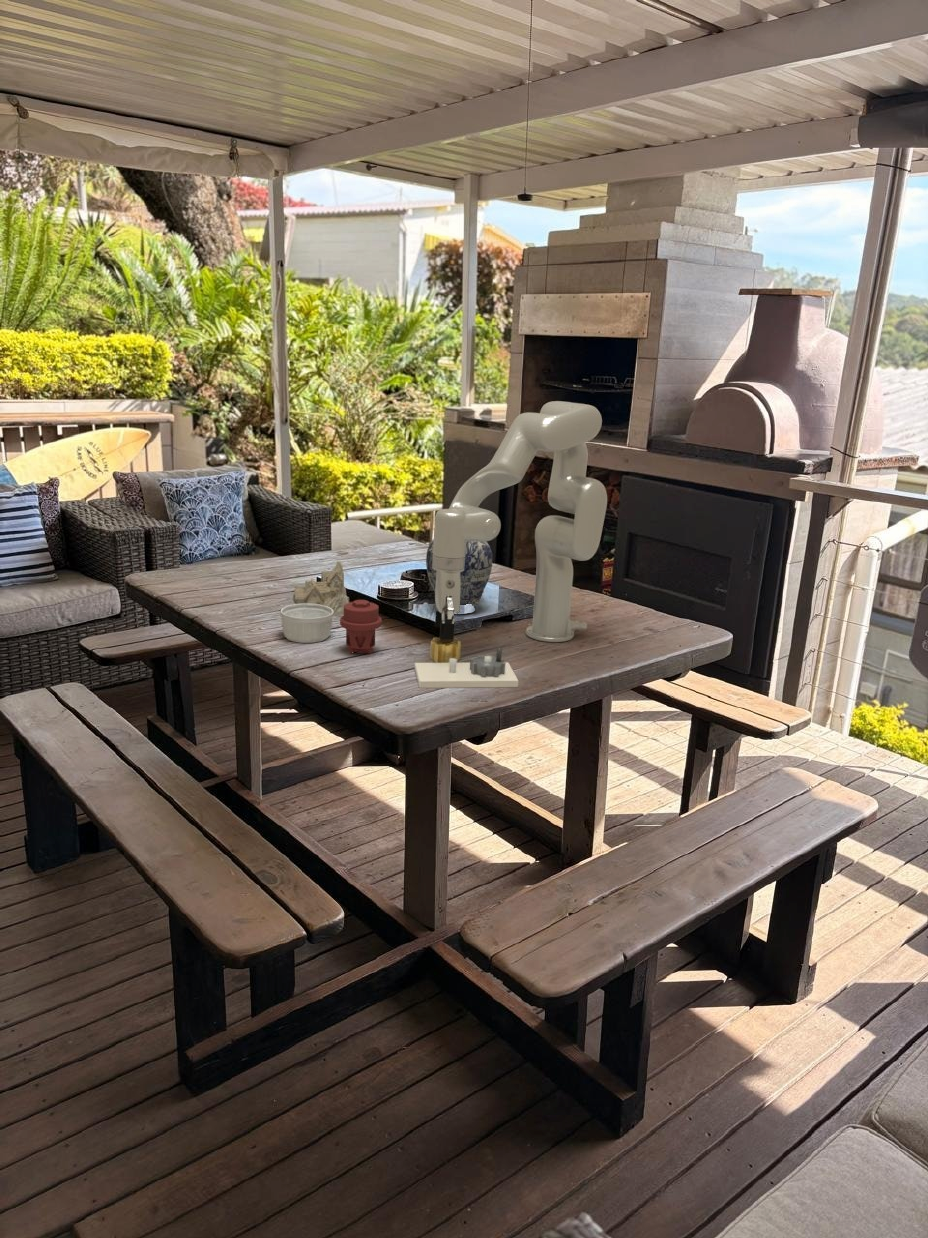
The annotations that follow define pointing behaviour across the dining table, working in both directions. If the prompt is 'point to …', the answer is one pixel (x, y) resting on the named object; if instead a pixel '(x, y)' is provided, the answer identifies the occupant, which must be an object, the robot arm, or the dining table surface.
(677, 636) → the dining table surface
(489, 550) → the decorative vase
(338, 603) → the ceramic cottage
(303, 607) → the ramekin
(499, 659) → the gear board
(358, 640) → the mechanical component
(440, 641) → the brass gear
